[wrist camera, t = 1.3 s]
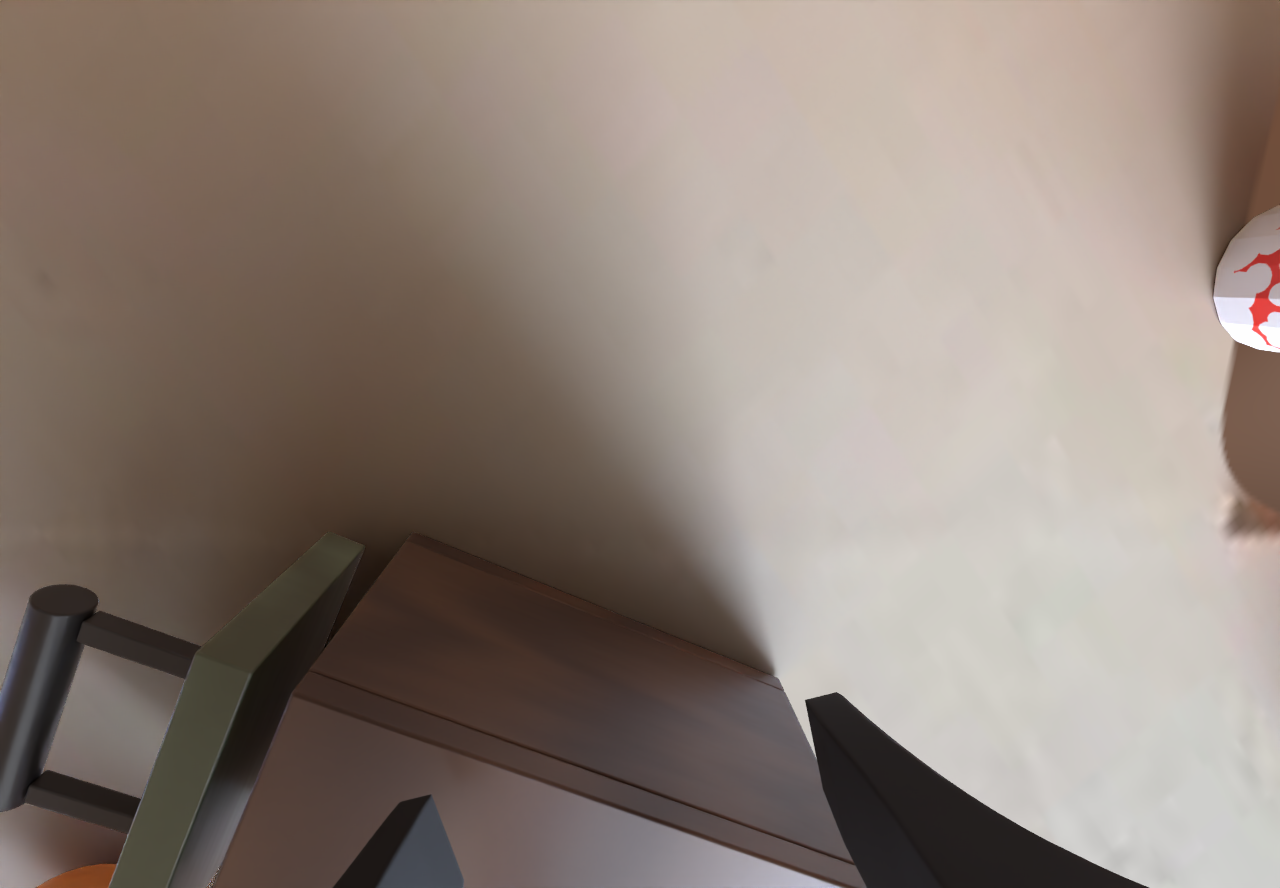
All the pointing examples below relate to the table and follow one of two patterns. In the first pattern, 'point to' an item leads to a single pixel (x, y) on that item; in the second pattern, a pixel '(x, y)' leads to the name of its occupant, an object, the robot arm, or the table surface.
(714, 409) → the table surface
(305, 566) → the drawer
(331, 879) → the cabinet
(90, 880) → the orange
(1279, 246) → the beverage cup
